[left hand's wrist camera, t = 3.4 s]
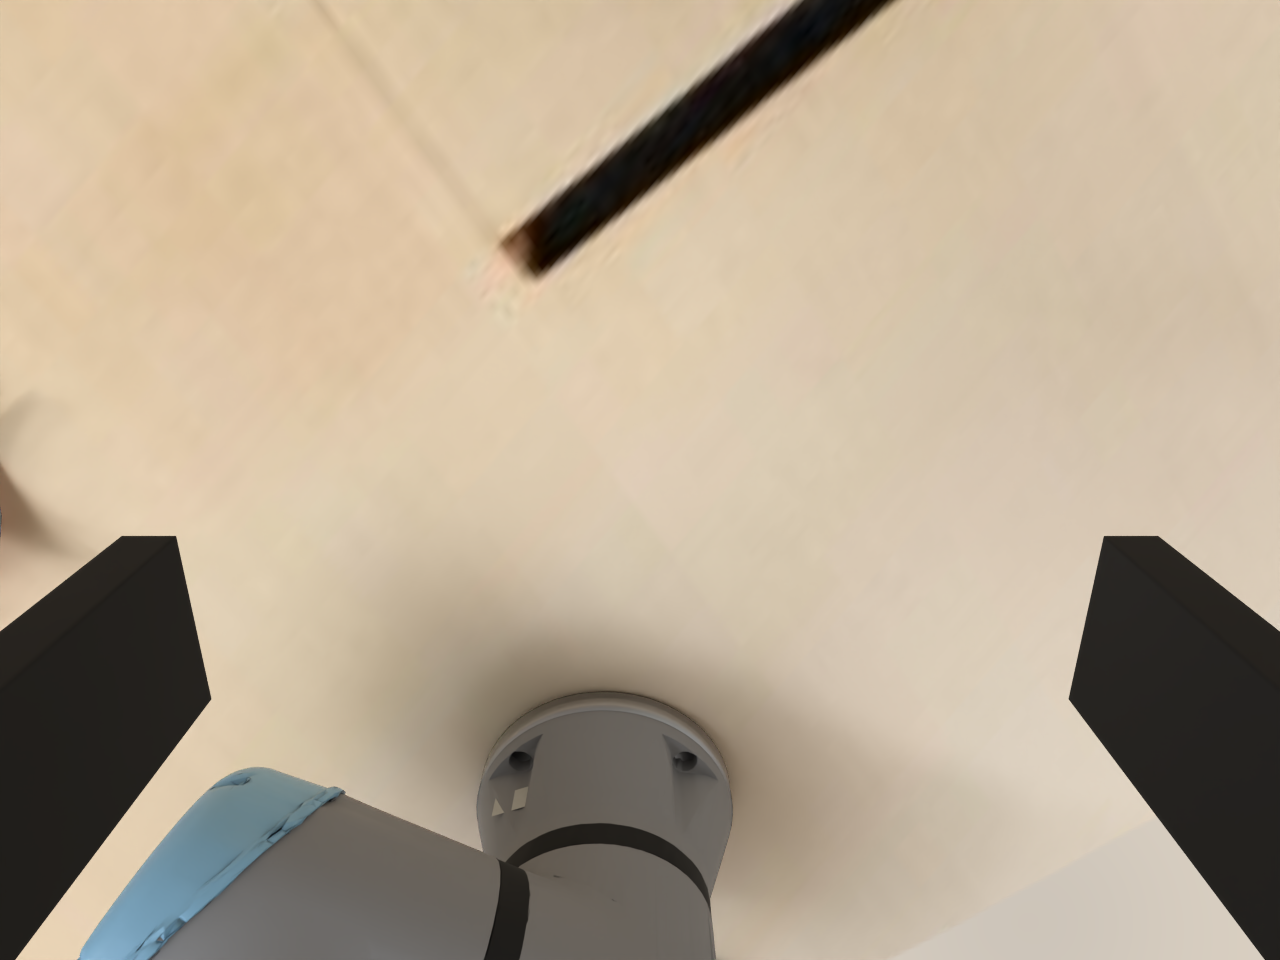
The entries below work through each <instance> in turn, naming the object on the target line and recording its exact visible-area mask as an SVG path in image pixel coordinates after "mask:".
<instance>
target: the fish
mask: <svg viewBox="0 0 1280 960" xmlns="http://www.w3.org/2000/svg"><path fill="white" fill-rule="evenodd" d="M1 519H2V515H1V509H0V535H1Z"/></svg>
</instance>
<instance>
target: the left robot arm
mask: <svg viewBox="0 0 1280 960" xmlns="http://www.w3.org/2000/svg"><path fill="white" fill-rule="evenodd" d="M210 700H211V695H210V691H209V686H208V681H207V677H206V672H205V668H204V663H203V658H202V654H201V649H200V644H199V640H198V635H197V631H196V626H195V621H194V617H193V612H192V608H191V603H190V598H189V594H188V589H187V585H186V580H185V575H184V571H183V566H182V561H181V557H180V552H179V548H178V543H177V538H176V536H121V537H120V538H119V539H118V540H116V541H115V542H114V543H112V544H111V545H110V546H109V547H107V548H106V549H105V550H104V551H102V552H101V553H100V554H98V555H97V556H96V557H95V558H93V559H92V560H91V561H89V562H88V563H87V564H86V565H84V566H83V567H82V568H81V569H79V570H78V571H77V572H75V573H74V574H73V575H72V576H70V577H69V578H68V579H67V580H65V581H64V582H63V583H61V584H60V585H59V586H58V587H56V588H55V589H54V590H53V591H51V592H50V593H49V594H47V595H46V596H45V597H44V598H42V599H41V600H40V601H39V602H37V603H36V604H35V605H33V606H32V607H31V608H30V609H28V610H27V611H26V612H25V613H23V614H22V615H21V616H19V617H18V618H17V619H16V620H14V621H13V622H12V623H10V624H9V625H8V626H7V627H5V628H4V629H3V630H2V631H0V960H15V959H16V958H17V957H18V955H19V954H20V953H21V951H22V950H23V949H24V947H25V946H26V945H27V943H28V942H29V941H30V939H31V938H32V937H33V935H34V934H35V933H36V931H37V930H38V929H39V927H40V926H41V925H42V923H43V922H44V921H45V919H46V918H47V917H48V915H49V914H50V913H51V911H52V910H53V909H54V907H55V906H56V905H57V903H58V902H59V901H60V899H61V898H62V897H63V896H64V894H65V893H66V892H67V890H68V889H69V888H70V886H71V885H72V884H73V882H74V881H75V880H76V878H77V877H78V876H79V874H80V873H81V872H82V870H83V869H84V868H85V866H86V865H87V864H88V862H89V861H90V860H91V858H92V857H93V856H94V854H95V853H96V852H97V850H98V849H99V848H100V846H101V845H102V844H103V842H104V841H105V840H106V838H107V837H108V836H109V834H110V833H111V832H112V830H113V829H114V828H115V826H116V825H117V824H118V822H119V821H120V820H121V818H122V817H123V816H124V814H125V813H126V812H127V810H128V809H129V808H130V806H131V805H132V804H133V802H134V801H135V800H136V799H137V797H138V796H139V795H140V793H141V792H142V791H143V789H144V788H145V787H146V785H147V784H148V783H149V781H150V780H151V779H152V777H153V776H154V775H155V773H156V772H157V771H158V769H159V768H160V767H161V765H162V764H163V763H164V761H165V760H166V759H167V757H168V756H169V755H170V753H171V752H172V751H173V749H174V748H175V747H176V745H177V744H178V743H179V741H180V740H181V739H182V737H183V736H184V735H185V733H186V732H187V731H188V729H189V728H190V727H191V725H192V724H193V723H194V721H195V720H196V719H197V717H198V716H199V715H200V713H201V712H202V711H203V709H204V708H205V707H206V705H207V704H208V703H209V702H210ZM1069 700H1070V702H1071V703H1072V704H1073V706H1074V707H1075V708H1076V709H1077V711H1078V712H1079V713H1080V715H1081V716H1082V717H1083V719H1084V720H1085V721H1086V723H1087V724H1088V725H1089V727H1090V728H1091V729H1092V731H1093V732H1094V733H1095V735H1096V736H1097V737H1098V739H1099V740H1100V741H1101V743H1102V744H1103V745H1104V747H1105V748H1106V749H1107V751H1108V752H1109V753H1110V755H1111V756H1112V757H1113V759H1114V760H1115V761H1116V763H1117V764H1118V765H1119V767H1120V768H1121V769H1122V771H1123V772H1124V773H1125V775H1126V776H1127V777H1128V779H1129V780H1130V781H1131V783H1132V784H1133V785H1134V787H1135V788H1136V789H1137V791H1138V792H1139V793H1140V795H1141V796H1142V797H1143V799H1144V800H1145V801H1146V802H1147V804H1148V805H1149V806H1150V808H1151V809H1152V810H1153V812H1154V813H1155V814H1156V816H1157V817H1158V818H1159V820H1160V821H1161V822H1162V824H1163V825H1164V826H1165V828H1166V829H1167V830H1168V832H1169V833H1170V834H1171V836H1172V837H1173V838H1174V840H1175V841H1176V842H1177V844H1178V845H1179V846H1180V848H1181V849H1182V850H1183V852H1184V853H1185V854H1186V856H1187V857H1188V858H1189V860H1190V861H1191V862H1192V864H1193V865H1194V866H1195V868H1196V869H1197V870H1198V872H1199V873H1200V874H1201V876H1202V877H1203V878H1204V880H1205V881H1206V882H1207V884H1208V885H1209V886H1210V887H1211V889H1212V890H1213V892H1214V893H1215V894H1216V896H1217V897H1218V898H1219V899H1220V901H1221V902H1222V903H1223V905H1224V906H1225V907H1226V909H1227V910H1228V911H1229V913H1230V914H1231V915H1232V917H1233V918H1234V919H1235V921H1236V922H1237V923H1238V925H1239V926H1240V927H1241V929H1242V930H1243V931H1244V933H1245V934H1246V935H1247V937H1248V938H1249V939H1250V941H1251V942H1252V943H1253V945H1254V946H1255V947H1256V949H1257V950H1258V951H1259V953H1260V954H1261V955H1262V957H1263V958H1264V959H1265V960H1280V631H1278V630H1277V629H1276V628H1275V627H1273V626H1272V625H1271V624H1270V623H1268V622H1267V621H1266V620H1264V619H1263V618H1262V617H1261V616H1259V615H1258V614H1257V613H1255V612H1254V611H1253V610H1252V609H1250V608H1249V607H1248V606H1247V605H1245V604H1244V603H1243V602H1241V601H1240V600H1239V599H1238V598H1236V597H1235V596H1234V595H1233V594H1231V593H1230V592H1229V591H1227V590H1226V589H1225V588H1224V587H1222V586H1221V585H1220V584H1219V583H1217V582H1216V581H1215V580H1213V579H1212V578H1211V577H1210V576H1208V575H1207V574H1206V573H1205V572H1203V571H1202V570H1201V569H1199V568H1198V567H1197V566H1196V565H1194V564H1193V563H1192V562H1191V561H1189V560H1188V559H1187V558H1185V557H1184V556H1183V555H1182V554H1180V553H1179V552H1178V551H1176V550H1175V549H1174V548H1173V547H1171V546H1170V545H1169V544H1168V543H1166V542H1165V541H1164V540H1162V539H1161V538H1160V537H1159V536H1104V538H1103V543H1102V548H1101V552H1100V557H1099V561H1098V566H1097V571H1096V575H1095V580H1094V585H1093V589H1092V594H1091V598H1090V603H1089V608H1088V612H1087V617H1086V621H1085V626H1084V631H1083V635H1082V640H1081V644H1080V649H1079V654H1078V658H1077V663H1076V668H1075V672H1074V677H1073V681H1072V686H1071V691H1070V695H1069ZM732 817H733V806H732V798H731V791H730V784H729V777H728V773H727V769H726V766H725V763H724V761H723V758H722V756H721V754H720V752H719V751H718V749H717V747H716V746H715V744H714V743H713V741H712V740H711V739H710V738H709V736H708V735H707V734H706V733H705V732H704V731H703V730H702V729H701V728H700V727H699V726H698V725H697V724H696V723H694V722H693V721H692V720H690V719H689V718H688V717H687V716H685V715H683V714H682V713H680V712H679V711H677V710H675V709H673V708H671V707H669V706H667V705H665V704H662V703H660V702H657V701H655V700H652V699H649V698H645V697H642V696H637V695H632V694H626V693H618V692H590V693H582V694H576V695H571V696H566V697H563V698H559V699H556V700H553V701H551V702H548V703H546V704H543V705H541V706H539V707H537V708H535V709H533V710H532V711H530V712H528V713H527V714H525V715H524V716H522V717H521V718H520V719H518V720H517V721H516V722H515V723H513V724H512V725H511V726H510V727H509V728H508V729H507V730H506V731H505V732H504V733H503V735H502V736H501V737H500V738H499V739H498V741H497V742H496V744H495V745H494V747H493V748H492V750H491V752H490V754H489V756H488V759H487V762H486V764H485V767H484V771H483V775H482V779H481V784H480V788H479V792H478V798H477V819H478V826H479V832H480V837H481V842H482V847H483V852H481V851H479V850H476V849H474V848H471V847H469V846H467V845H464V844H462V843H459V842H457V841H454V840H452V839H449V838H447V837H445V836H442V835H440V834H437V833H435V832H432V831H430V830H427V829H425V828H423V827H420V826H418V825H415V824H413V823H410V822H408V821H405V820H403V819H401V818H398V817H396V816H393V815H391V814H388V813H386V812H384V811H381V810H379V809H376V808H374V807H371V806H369V805H367V804H365V803H362V802H360V801H358V800H355V799H353V798H351V797H349V796H346V795H345V791H344V790H342V789H340V788H338V787H330V788H326V787H323V786H320V785H317V784H314V783H311V782H308V781H305V780H302V779H299V778H296V777H293V776H290V775H287V774H284V773H281V772H278V771H276V770H273V769H270V768H264V767H252V768H247V769H243V770H239V771H236V772H234V773H232V774H230V775H228V776H226V777H225V778H223V779H221V780H220V781H218V782H217V783H216V784H215V785H213V786H212V787H211V788H210V789H209V790H208V791H207V792H206V793H205V794H203V795H202V796H201V797H200V798H199V799H198V800H197V801H196V802H195V804H194V805H193V806H192V807H191V808H190V809H189V810H188V811H187V812H186V813H185V814H184V816H183V817H182V818H181V819H180V820H179V821H178V822H177V823H176V825H175V826H174V827H173V828H172V829H171V831H170V832H169V833H168V834H167V835H166V837H165V838H164V839H163V840H162V841H161V843H160V844H159V845H158V846H157V848H156V849H155V850H154V851H153V853H152V854H151V855H150V856H149V858H148V859H147V860H146V861H145V863H144V864H143V865H142V866H141V868H140V869H139V870H138V872H137V873H136V874H135V876H134V877H133V878H132V879H131V881H130V882H129V883H128V885H127V886H126V887H125V889H124V890H123V891H122V893H121V894H120V895H119V897H118V898H117V899H116V901H115V902H114V903H113V905H112V906H111V908H110V909H109V910H108V912H107V913H106V914H105V916H104V917H103V919H102V920H101V921H100V923H99V924H98V926H97V927H96V929H95V930H94V931H93V933H92V934H91V936H90V937H89V939H88V940H87V942H86V943H85V945H84V946H83V948H82V950H81V953H80V957H79V958H78V959H77V960H716V955H715V945H714V935H713V925H712V918H711V907H710V897H711V894H712V891H713V887H714V884H715V881H716V878H717V874H718V871H719V868H720V864H721V861H722V858H723V855H724V851H725V848H726V845H727V841H728V838H729V834H730V830H731V826H732Z"/></svg>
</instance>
